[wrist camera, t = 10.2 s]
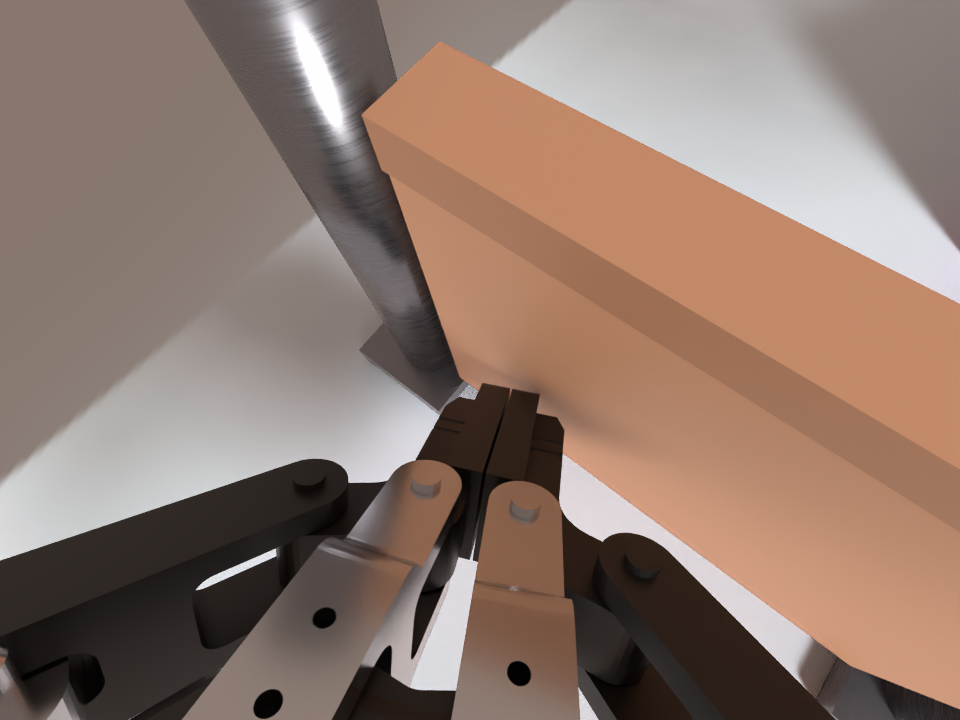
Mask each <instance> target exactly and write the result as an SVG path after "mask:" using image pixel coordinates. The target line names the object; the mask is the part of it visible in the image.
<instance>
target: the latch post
mask: <svg viewBox="0 0 960 720" xmlns="http://www.w3.org/2000/svg"><path fill="white" fill-rule="evenodd" d="M185 2H186V4H187V5H188V6H189V8H190V10H191V12H192V13H193V15H194V16H195V18H196V20H197V21H198V23H199V25H200V26H201V28H202V29H203V31H204V32H205V34H206V36H207V37H208V39H209V41H210V42H211V44H212V46H213V47H214V49H215V50H216V52H217V54H218V55H219V57H220V58H221V60H222V62H223V63H224V65H225V67H226V68H227V70H228V71H229V73H230V74H231V76H232V78H233V79H234V81H235V83H236V84H237V86H238V88H239V89H240V91H241V92H242V94H243V95H244V97H245V99H246V100H247V102H248V103H249V105H250V107H251V109H252V110H253V112H254V113H255V115H256V117H257V118H258V120H259V121H260V123H261V125H262V126H263V128H264V129H265V131H266V133H267V134H268V136H269V137H270V139H271V141H272V142H273V144H274V146H275V147H276V149H277V150H278V152H279V154H280V155H281V157H282V159H283V160H284V162H285V163H286V165H287V167H288V168H289V170H290V172H291V173H292V175H293V176H294V178H295V180H296V181H297V183H298V184H299V186H300V188H301V189H302V191H303V193H304V194H305V195H306V197H307V199H308V201H309V202H310V204H311V205H312V207H313V209H314V210H315V212H316V214H317V215H318V217H319V218H320V220H321V222H322V223H323V225H324V226H325V228H326V230H327V231H328V233H329V234H330V236H331V238H332V239H333V241H334V243H335V244H336V246H337V247H338V249H339V251H340V252H341V254H342V255H343V257H344V259H345V260H346V262H347V264H348V265H349V267H350V268H351V270H352V272H353V273H354V275H355V276H356V278H357V280H358V281H359V283H360V285H361V286H362V288H363V289H364V291H365V293H366V294H367V296H368V297H369V299H370V301H371V302H372V304H373V306H374V307H375V309H376V310H377V312H378V314H379V315H380V317H381V318H382V320H383V322H384V323H383V324H382V326H381V327H380V328H379V329H378V330H377V331H376V332H375V333H374V334H373V336H372V337H371V338H370V339H369V340H368V341H367V342H366V343H365V344H364V346H363V347H362V348H361V349H360V350H359V351H360V352H361V353H362V354H363V355H364V356H365V358H367V359H368V360H369V361H371V362H372V363H373V364H375V365H376V366H377V367H378V368H380V369H381V370H382V371H384V372H385V373H386V374H387V375H389V376H390V377H391V378H393V379H394V380H395V381H396V382H398V383H399V384H400V385H402V386H403V387H404V388H406V389H407V390H408V391H409V392H411V393H412V394H413V395H415V396H416V397H417V398H418V399H420V400H421V401H422V402H424V403H425V404H426V405H428V406H429V407H430V408H431V409H433V410H434V411H435V412H437V413H438V414H439V415H441V413H442V411H443V409H444V407H445V406H446V405H447V404H449V403H450V402H452V401H453V400H455V399H457V397H458V396H459V395H460V394H461V392H462V391H463V390H464V389H465V387H466V386H467V385H468V383H467V382H466V381H464V380H463V379H462V378H460V376H459V373H458V370H457V368H456V365H455V362H454V359H453V356H452V353H451V350H450V348H449V345H448V342H447V339H446V336H445V333H444V330H443V327H442V325H441V322H440V319H439V316H438V313H437V310H436V307H435V305H434V302H433V299H432V296H431V293H430V290H429V287H428V285H427V282H426V279H425V276H424V273H423V270H422V267H421V264H420V262H419V259H418V256H417V253H416V250H415V247H414V244H413V242H412V239H411V236H410V233H409V230H408V227H407V224H406V222H405V219H404V216H403V213H402V210H401V207H400V204H399V201H398V199H397V196H396V193H395V190H394V187H393V184H392V181H391V179H390V176H389V174H387V173H385V172H384V171H382V170H381V167H380V164H379V162H378V159H377V156H376V153H375V151H374V148H373V145H372V142H371V140H370V137H369V134H368V132H367V129H366V126H365V123H364V121H363V118H362V114H363V113H364V112H365V111H366V110H367V109H368V108H369V107H370V106H371V105H372V104H373V103H374V102H375V101H377V100H378V99H379V98H380V97H381V96H382V95H383V94H384V93H385V92H386V91H387V90H388V89H389V88H390V87H391V86H392V85H394V84H395V83H396V82H397V77H396V74H395V70H394V66H393V62H392V58H391V54H390V51H389V47H388V43H387V39H386V35H385V31H384V27H383V23H382V19H381V16H380V12H379V8H378V4H377V0H185Z"/></svg>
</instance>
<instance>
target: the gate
mask: <svg viewBox="0 0 960 720" xmlns="http://www.w3.org/2000/svg"><path fill="white" fill-rule="evenodd" d="M362 118H363V121H364V123H365V126H366V129H367V132H368V134H369V137H370V140H371V142H372V145H373V148H374V151H375V153H376V156H377V159H378V162H379V164H380V167H381V170H382V171H384V172H385V173H387V174H389V176H390V179H391V181H392V184H393V187H394V190H395V193H396V196H397V199H398V201H399V204H400V207H401V210H402V213H403V216H404V219H405V222H406V224H407V227H408V230H409V233H410V236H411V239H412V242H413V244H414V247H415V250H416V253H417V256H418V259H419V262H420V264H421V267H422V270H423V273H424V276H425V279H426V282H427V285H428V287H429V290H430V293H431V296H432V299H433V302H434V305H435V307H436V310H437V313H438V316H439V319H440V322H441V325H442V327H443V330H444V333H445V336H446V339H447V342H448V345H449V348H450V350H451V353H452V356H453V359H454V362H455V365H456V368H457V370H458V373H459V376H460V378H462V379H463V380H464V381H466V382H467V383H468V384H470V385H471V386H473V387H474V388H475V389H477V390H478V391H479V389H480V387H481V385H482V383H487V384H492V385H497V386H502V387H507V388H510V395H511V391H512V389H517V390H522V391H527V392H532V393H537V394H540V397H539V403H538V408H537V413H539V414H544V415H549V416H554V417H557V418H558V420H559V421H560V423H561V425H562V427H563V428H564V430H565V432H564V443H563V454H564V455H566V456H567V457H569V458H570V459H571V460H573V461H574V462H575V463H577V464H578V465H579V466H581V467H582V468H583V469H585V470H586V471H587V472H589V473H590V474H592V475H593V476H594V477H596V478H597V479H598V480H600V481H601V482H602V483H604V484H605V485H606V486H608V487H609V488H610V489H612V490H613V491H615V492H616V493H617V494H619V495H620V496H621V497H623V498H624V499H625V500H627V501H628V502H629V503H631V504H632V505H633V506H635V507H636V508H638V509H639V510H640V511H642V512H643V513H644V514H646V515H647V516H648V517H650V518H651V519H652V520H654V521H655V522H656V523H658V524H659V525H661V526H662V527H663V528H665V529H666V530H667V531H669V532H670V533H671V534H673V535H674V536H675V537H677V538H678V539H679V540H681V541H682V542H684V543H685V544H686V545H688V546H689V547H690V548H692V549H693V550H694V551H696V552H697V553H698V554H700V555H701V556H702V557H704V558H705V559H707V560H708V561H709V562H711V563H712V564H713V565H715V566H716V567H717V568H719V569H720V570H721V571H723V572H724V573H725V574H727V575H728V576H730V577H731V578H732V579H734V580H735V581H736V582H738V583H739V584H740V585H742V586H743V587H744V588H746V589H747V590H748V591H750V592H751V593H752V594H754V595H755V596H757V597H758V598H759V599H761V600H762V601H763V602H765V603H766V604H767V605H769V606H770V607H771V608H773V609H774V610H775V611H777V612H778V613H780V614H781V615H782V616H784V617H785V618H786V619H788V620H789V621H790V622H792V623H793V624H794V625H796V626H797V627H798V628H800V629H801V630H803V631H804V632H805V633H807V634H808V635H809V636H811V637H812V638H813V639H815V640H816V641H817V642H819V643H820V644H821V645H823V646H824V647H826V648H827V649H828V650H830V651H831V652H832V653H834V654H835V655H836V656H838V657H839V658H840V659H842V660H843V661H844V662H846V663H847V664H849V665H850V666H852V667H854V668H857V669H859V670H862V671H865V672H867V673H870V674H872V675H875V676H877V677H880V678H882V679H885V680H887V681H890V682H892V683H895V684H897V685H900V686H902V687H905V688H907V689H910V690H912V691H915V692H917V693H920V694H923V695H925V696H928V697H930V698H933V699H935V700H938V701H940V702H943V703H945V704H948V705H950V706H953V707H955V708H958V709H960V304H959V303H957V302H955V301H953V300H951V299H949V298H947V297H945V296H943V295H941V294H939V293H937V292H935V291H933V290H931V289H929V288H927V287H925V286H923V285H921V284H919V283H917V282H915V281H913V280H911V279H909V278H907V277H905V276H903V275H901V274H899V273H897V272H895V271H893V270H891V269H889V268H887V267H885V266H883V265H881V264H879V263H878V262H876V261H874V260H872V259H870V258H868V257H866V256H864V255H862V254H860V253H858V252H856V251H854V250H852V249H850V248H848V247H846V246H844V245H842V244H840V243H838V242H836V241H834V240H832V239H830V238H828V237H826V236H824V235H822V234H820V233H818V232H816V231H814V230H812V229H810V228H808V227H806V226H804V225H802V224H800V223H798V222H796V221H794V220H792V219H790V218H788V217H786V216H784V215H783V214H781V213H779V212H777V211H775V210H773V209H771V208H769V207H767V206H765V205H763V204H761V203H759V202H757V201H755V200H753V199H751V198H749V197H747V196H745V195H743V194H741V193H739V192H737V191H735V190H733V189H731V188H729V187H727V186H725V185H723V184H721V183H719V182H717V181H715V180H713V179H711V178H709V177H707V176H705V175H703V174H701V173H699V172H697V171H695V170H693V169H691V168H689V167H688V166H686V165H684V164H682V163H680V162H678V161H676V160H674V159H672V158H670V157H668V156H666V155H664V154H662V153H660V152H658V151H656V150H654V149H652V148H650V147H648V146H646V145H644V144H642V143H640V142H638V141H636V140H634V139H632V138H630V137H628V136H626V135H624V134H622V133H620V132H618V131H616V130H614V129H612V128H610V127H608V126H606V125H604V124H602V123H600V122H598V121H596V120H594V119H592V118H591V117H589V116H587V115H585V114H583V113H581V112H579V111H577V110H575V109H573V108H571V107H569V106H567V105H565V104H563V103H561V102H559V101H557V100H555V99H553V98H551V97H549V96H547V95H545V94H543V93H541V92H539V91H537V90H535V89H533V88H531V87H529V86H527V85H525V84H523V83H521V82H519V81H517V80H515V79H513V78H511V77H509V76H507V75H505V74H503V73H501V72H499V71H497V70H496V69H494V68H492V67H490V66H488V65H486V64H484V63H482V62H480V61H478V60H476V59H474V58H472V57H470V56H468V55H466V54H464V53H462V52H460V51H458V50H456V49H454V48H452V47H450V46H448V45H446V44H444V43H442V42H438V43H437V44H436V45H435V46H434V47H433V48H432V49H431V50H430V51H429V52H428V53H427V54H426V55H424V56H423V57H422V58H421V59H420V60H419V61H418V62H417V63H416V64H415V65H414V66H413V67H412V68H411V69H410V70H408V71H407V72H406V73H405V74H404V75H403V76H402V77H401V78H400V79H399V80H398V81H397V82H396V83H395V84H394V85H392V86H391V87H390V88H389V89H388V90H387V91H386V92H385V93H384V94H383V95H382V96H381V97H380V98H379V99H378V100H377V101H375V102H374V103H373V104H372V105H371V106H370V107H369V108H368V109H367V110H366V111H365V112H364V113H363V114H362ZM509 398H510V397H509Z"/></svg>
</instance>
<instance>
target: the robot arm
mask: <svg viewBox="0 0 960 720" xmlns="http://www.w3.org/2000/svg"><path fill="white" fill-rule="evenodd" d="M509 397H510V398H509ZM539 397H540V394H537V393H532V392H527V391H522V390H517V389H512V391H511V395H510V388H507V387H502V386H497V385H492V384H487V383H482V385H481V387H480V389H479V392H478V394H477V396H476V398H475V400H471V399H466V398H462V397H458V398H457V399H455V400H453V401H452V402H450V403H449V404H447V405H446V406H445V407H444V409H443V411H442V413H441V415H440V417H439V419H438V420H437V422H436V424H435V426H434V429H432V431H431V433H430V435H429V437H428V438H427V440H426V442H425V444H424V446H423V447H422V449H421V451H420V453H419V455H418V457H417V458H416V460H415V461H412V462H409V463H406V464H404V465H402V466H400V467H399V468H398V469H397V470H396V471H395V472H394V473H393V474H392V476H391V477H390V478H389V480H388V481H385V482H378V483H348V475H347V473H346V471H345V469H344V468H342V467H341V466H340V465H339V464H337V463H335V462H332V461H329V460H324V459H307V460H301V461H298V462H294V463H291V464H288V465H285V466H282V467H279V468H276V469H273V470H270V471H267V472H264V473H261V474H258V475H255V476H252V477H249V478H246V479H243V480H240V481H237V482H234V483H231V484H228V485H225V486H222V487H219V488H216V489H214V490H211V491H208V492H205V493H202V494H199V495H196V496H193V497H190V498H187V499H184V500H181V501H178V502H175V503H172V504H169V505H166V506H163V507H160V508H157V509H154V510H151V511H148V512H145V513H142V514H139V515H136V516H133V517H130V518H127V519H124V520H121V521H118V522H115V523H112V524H109V525H106V526H103V527H100V528H97V529H94V530H91V531H88V532H85V533H82V534H79V535H76V536H73V537H70V538H67V539H64V540H61V541H58V542H55V543H52V544H49V545H46V546H43V547H40V548H37V549H34V550H31V551H28V552H25V553H22V554H19V555H16V556H13V557H10V558H7V559H4V560H1V561H0V720H128V719H130V718H131V719H130V720H580V710H579V692H578V687H579V688H580V690H581V692H582V693H583V695H584V696H585V698H586V700H587V701H588V703H589V705H590V706H591V708H592V709H593V711H594V713H595V714H596V716H597V718H598V719H599V720H836V719H835V718H834V717H833V716H832V715H831V714H830V713H829V712H828V711H827V710H826V709H825V708H824V707H823V706H822V705H821V704H820V703H819V702H818V701H817V700H816V699H815V698H814V697H813V696H812V695H811V694H810V693H809V692H808V691H807V690H806V689H805V688H804V687H803V686H802V685H801V684H800V683H799V682H798V681H797V680H796V679H795V678H794V677H793V676H792V675H791V674H790V673H789V672H788V671H787V670H786V669H785V668H784V667H783V666H782V665H781V664H780V663H779V662H778V661H777V660H776V659H775V658H774V657H773V656H772V655H771V654H770V653H769V652H768V651H767V650H766V649H765V648H764V647H763V646H762V645H761V644H760V643H759V642H758V641H757V640H756V639H755V638H754V637H753V636H752V635H751V634H750V633H749V632H748V631H747V630H746V629H745V628H744V627H743V626H742V625H741V624H740V623H739V622H738V621H737V620H736V619H735V618H734V617H733V616H732V615H731V614H730V613H729V612H728V611H727V610H726V609H725V608H724V607H723V606H722V605H721V604H720V603H719V602H718V601H717V600H716V599H715V598H714V597H713V596H712V595H711V594H710V593H709V592H708V591H707V590H706V589H705V588H704V587H703V586H702V585H701V584H700V583H699V582H698V581H697V580H696V579H695V578H694V577H693V576H692V575H691V574H690V573H689V572H688V571H687V570H686V569H685V568H684V567H683V566H682V565H681V564H680V563H679V562H678V561H677V560H676V559H675V558H674V557H673V556H672V555H671V554H670V553H669V552H668V551H667V550H666V549H665V548H664V547H662V546H661V545H659V544H658V543H656V542H655V541H653V540H651V539H649V538H646V537H644V536H641V535H638V534H632V533H618V534H614V535H611V536H609V537H608V538H606V539H605V540H604V541H603V542H602V541H600V540H598V539H596V538H594V537H592V536H590V535H588V534H586V533H584V532H582V531H581V530H579V529H578V528H577V527H575V526H574V525H573V524H572V523H571V522H570V521H569V520H568V519H567V518H566V517H565V515H564V513H563V512H562V510H561V507H560V504H559V492H560V480H561V468H562V455H563V443H564V432H565V430H564V428H563V427H562V425H561V423H560V421H559V420H558V418H557V417H554V416H549V415H544V414H539V413H537V408H538V403H539ZM475 539H476V542H475ZM474 543H475V549H474V555H473V561H477V562H478V565H477V571H476V577H475V582H474V588H473V594H472V600H471V605H470V611H469V617H468V623H467V629H466V635H465V641H464V647H463V653H462V659H461V665H460V671H459V677H458V683H457V689H456V691H435V690H415V689H412V688H410V685H411V681H412V678H413V675H414V672H415V670H416V667H417V665H418V662H419V660H420V658H421V655H422V653H423V650H424V648H425V645H426V643H427V640H428V638H429V636H430V633H431V631H432V628H433V626H434V623H435V621H436V619H437V616H438V614H439V611H440V609H441V606H442V604H443V602H444V599H445V597H446V594H447V592H448V589H449V584H450V578H451V577H452V575H453V572H454V570H455V566H456V563H457V560H458V557H461V558H465V559H468V560H470V557H471V553H472V550H473V546H474ZM275 548H276V554H277V556H276V557H274V558H272V559H269V560H267V561H265V562H263V563H260V564H258V565H256V566H254V567H252V568H249V569H247V570H245V571H243V572H240V573H238V574H236V575H234V576H231V577H229V578H227V579H225V580H222V581H220V582H218V583H216V584H213V585H211V586H209V587H207V588H204V589H201V590H196V589H197V587H198V586H199V585H200V584H201V583H202V582H204V581H205V580H206V579H208V578H210V577H211V576H213V575H216V574H218V573H220V572H223V571H225V570H227V569H229V568H232V567H234V566H236V565H239V564H241V563H243V562H245V561H248V560H250V559H252V558H255V557H257V556H259V555H262V554H264V553H266V552H268V551H271V550H273V549H275ZM221 668H222V669H221ZM219 669H220V670H219ZM141 712H142V713H141ZM139 713H140V714H139ZM134 716H135V717H134ZM132 717H133V718H132Z"/></svg>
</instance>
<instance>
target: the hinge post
mask: <svg viewBox="0 0 960 720" xmlns="http://www.w3.org/2000/svg"><path fill="white" fill-rule="evenodd" d="M817 701H818V702H819V703H820V704H821V705H822V706H823V707H824V708H825V709H826V710H827V711H828V712H829V713H830V714H831V715H832V716H833V717H834V718H835V719H836V720H960V709H958V708H955V707H953V706H950V705H948V704H945V703H943V702H940V701H938V700H935V699H933V698H930V697H928V696H925V695H923V694H920V693H917V692H915V691H912V690H910V689H907V688H905V687H902V686H900V685H897V684H895V683H892V682H890V681H887V680H885V679H882V678H880V677H877V676H875V675H872V674H870V673H867V672H865V671H862V670H859V669H857V668H854V667H852V666H850V665H849V664H847V663H846V662H844V661H843V660H842V659H840V658H839V657H837V660H836V662H835V664H834V666H833V668H832V670H831V672H830V674H829V676H828V678H827V680H826V682H825V684H824V686H823V688H822V690H821V692H820V694H819V696H818V698H817Z"/></svg>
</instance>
